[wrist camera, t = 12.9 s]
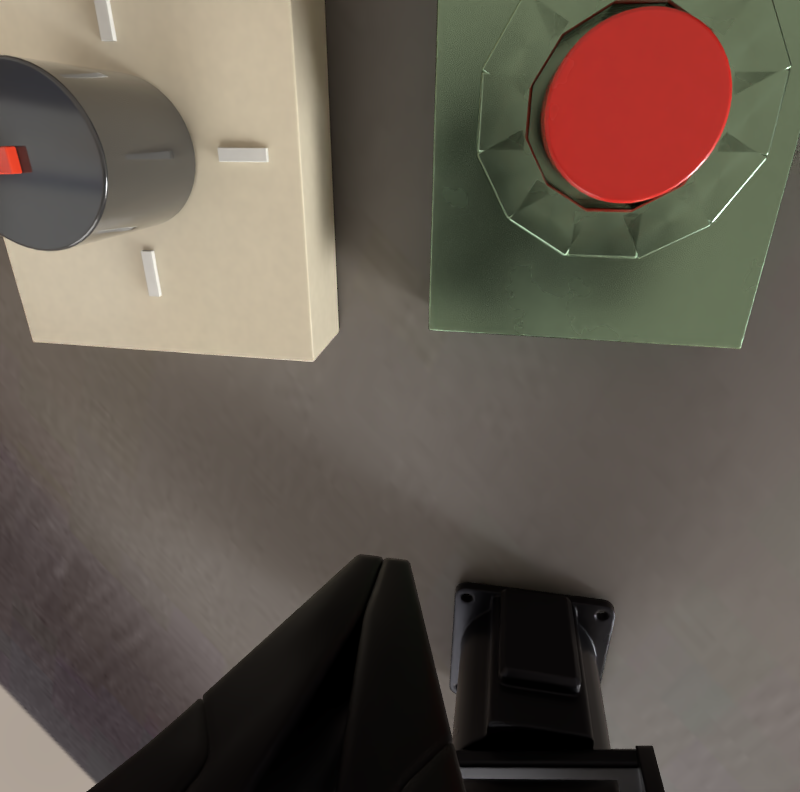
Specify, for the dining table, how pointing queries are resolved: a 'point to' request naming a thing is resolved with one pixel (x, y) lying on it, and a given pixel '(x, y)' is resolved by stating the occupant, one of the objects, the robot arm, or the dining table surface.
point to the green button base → (590, 218)
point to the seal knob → (86, 154)
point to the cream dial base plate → (201, 181)
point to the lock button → (637, 104)
